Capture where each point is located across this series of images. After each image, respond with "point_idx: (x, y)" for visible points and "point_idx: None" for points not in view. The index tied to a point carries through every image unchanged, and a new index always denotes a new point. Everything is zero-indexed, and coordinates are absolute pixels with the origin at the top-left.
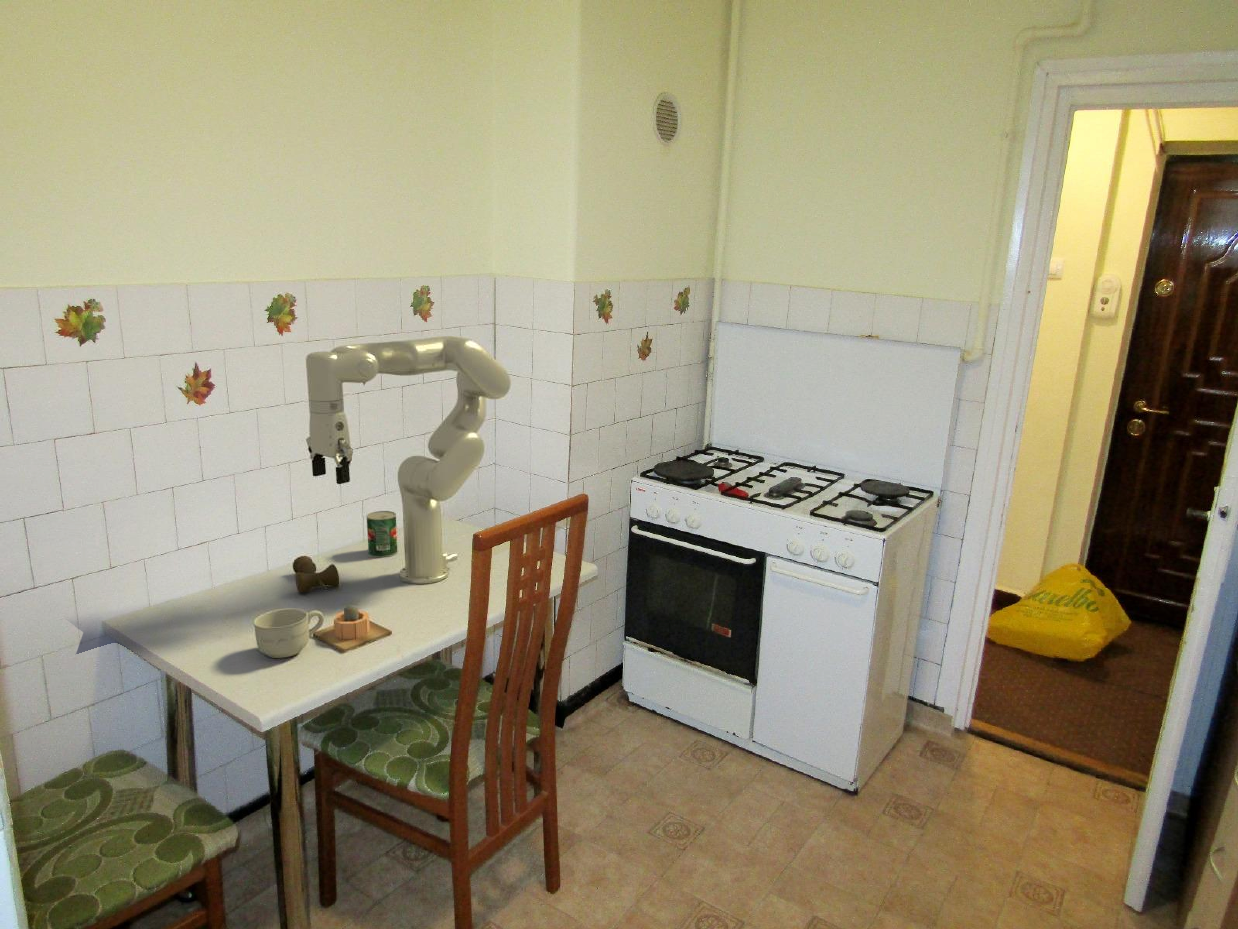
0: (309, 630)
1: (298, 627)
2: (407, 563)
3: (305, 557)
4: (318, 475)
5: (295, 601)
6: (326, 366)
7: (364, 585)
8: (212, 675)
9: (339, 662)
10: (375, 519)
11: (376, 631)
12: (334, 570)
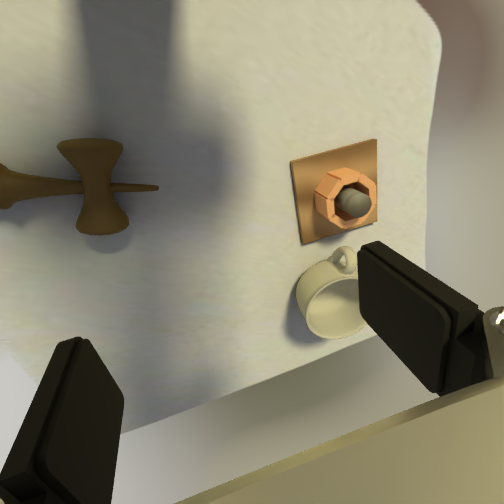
0: (336, 261)
1: None
2: None
3: None
4: (113, 379)
5: (147, 234)
6: None
7: (123, 80)
8: (322, 348)
9: (390, 232)
10: None
11: (361, 161)
12: (110, 155)
